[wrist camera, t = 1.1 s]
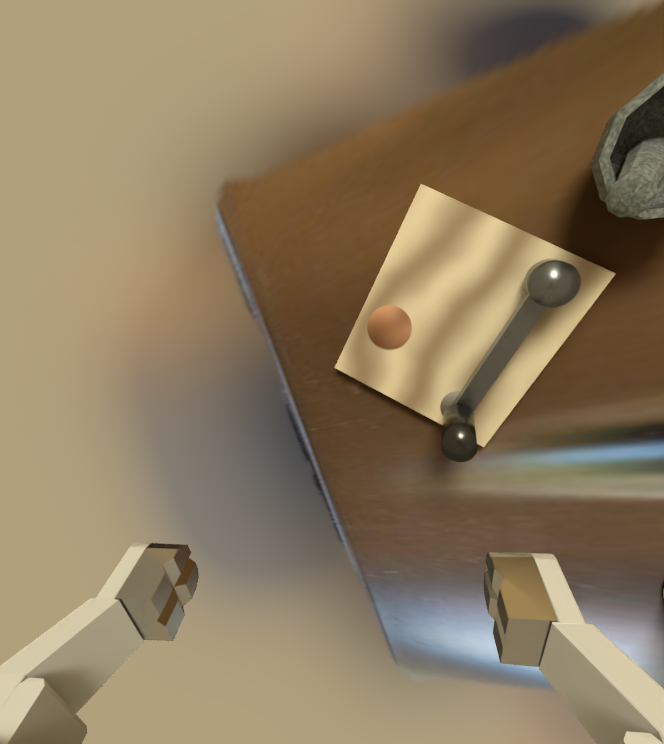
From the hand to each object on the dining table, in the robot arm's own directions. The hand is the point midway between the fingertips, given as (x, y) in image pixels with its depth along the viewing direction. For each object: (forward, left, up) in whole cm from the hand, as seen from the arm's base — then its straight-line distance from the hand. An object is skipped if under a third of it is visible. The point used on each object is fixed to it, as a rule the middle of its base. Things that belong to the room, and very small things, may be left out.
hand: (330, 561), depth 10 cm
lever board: (-4, 0, -36) cm, 36 cm away
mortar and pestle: (-10, -19, -36) cm, 42 cm away
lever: (-9, 0, -34) cm, 35 cm away
